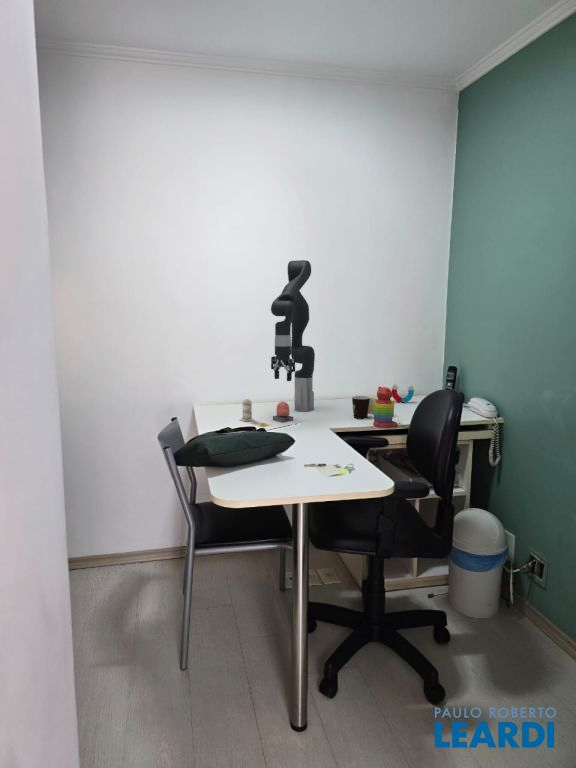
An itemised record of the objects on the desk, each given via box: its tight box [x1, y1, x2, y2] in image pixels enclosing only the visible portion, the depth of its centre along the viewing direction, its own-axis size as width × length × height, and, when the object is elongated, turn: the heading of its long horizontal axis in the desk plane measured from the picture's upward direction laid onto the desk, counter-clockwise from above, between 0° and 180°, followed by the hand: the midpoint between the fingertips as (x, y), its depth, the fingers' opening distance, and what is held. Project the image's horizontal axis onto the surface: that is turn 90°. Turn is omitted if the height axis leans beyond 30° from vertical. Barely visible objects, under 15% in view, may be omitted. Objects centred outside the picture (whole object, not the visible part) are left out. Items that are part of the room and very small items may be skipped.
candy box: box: [368, 396, 395, 417], centre depth 277 cm, size 16×2×8 cm, turn 54°
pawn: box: [240, 398, 254, 423], centre depth 260 cm, size 6×6×10 cm
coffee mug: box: [351, 395, 370, 420], centre depth 271 cm, size 12×9×10 cm
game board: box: [238, 414, 299, 432], centre depth 258 cm, size 26×22×3 cm
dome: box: [276, 401, 290, 416], centre depth 260 cm, size 6×6×6 cm
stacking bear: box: [372, 386, 399, 429], centre depth 254 cm, size 11×10×18 cm
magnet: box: [391, 383, 415, 404], centre depth 306 cm, size 12×3×10 cm, turn 74°
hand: (282, 379), depth 257 cm, fingers open, 8 cm apart
